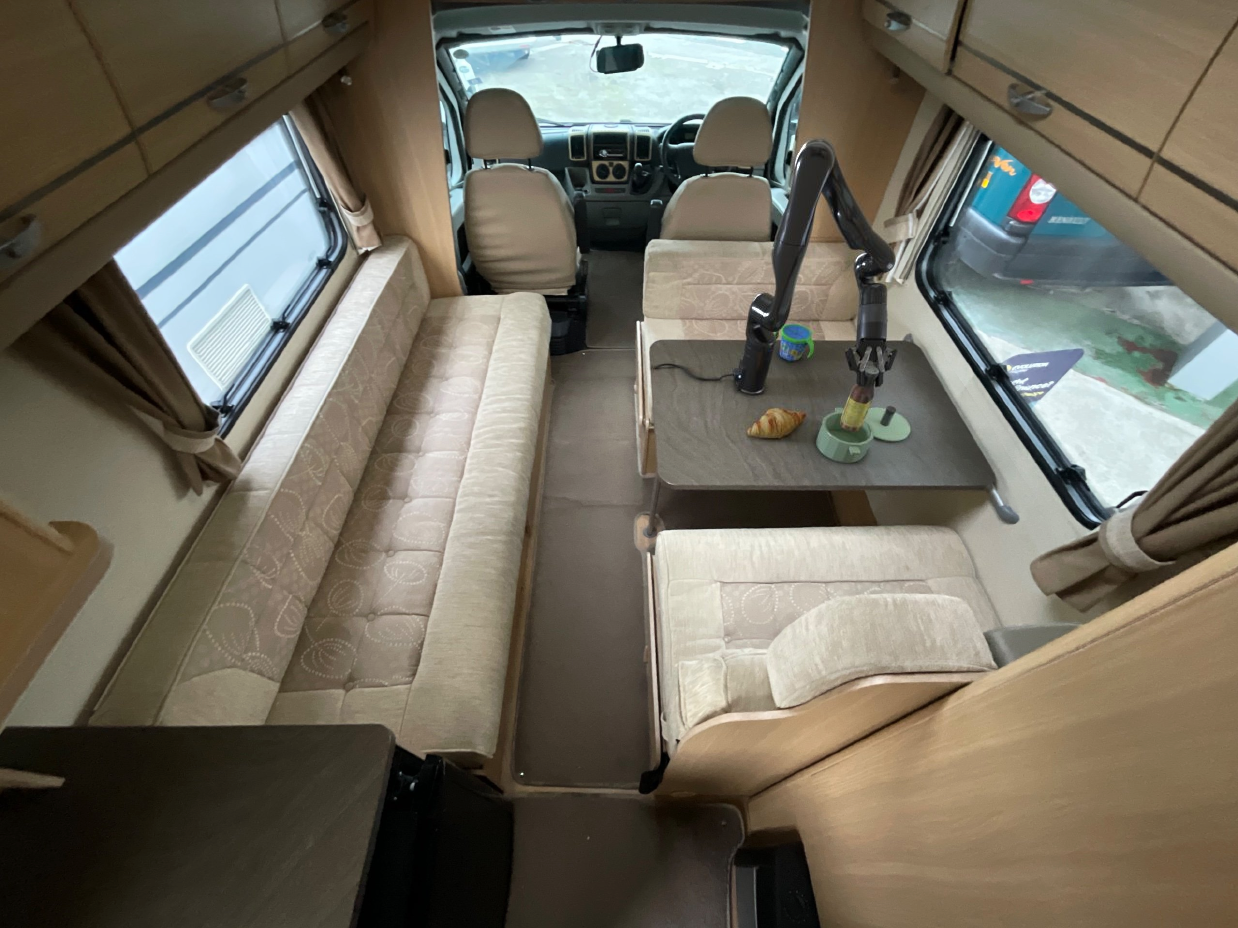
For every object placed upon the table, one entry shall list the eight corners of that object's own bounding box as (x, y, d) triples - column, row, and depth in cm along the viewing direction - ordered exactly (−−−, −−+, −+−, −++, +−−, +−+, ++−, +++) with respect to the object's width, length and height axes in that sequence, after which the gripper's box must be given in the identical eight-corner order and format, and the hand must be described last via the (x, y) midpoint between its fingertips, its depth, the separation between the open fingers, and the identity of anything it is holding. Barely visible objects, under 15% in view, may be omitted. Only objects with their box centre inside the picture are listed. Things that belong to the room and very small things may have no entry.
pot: (824, 468, 163) (831, 450, 158) (809, 423, 177) (816, 405, 172) (873, 470, 163) (883, 452, 158) (855, 424, 177) (863, 406, 172)
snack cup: (816, 361, 201) (824, 337, 194) (796, 371, 197) (803, 347, 189) (784, 341, 210) (790, 317, 203) (764, 350, 205) (770, 326, 198)
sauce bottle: (863, 432, 162) (888, 378, 148) (841, 432, 163) (864, 377, 148) (857, 417, 167) (880, 363, 153) (836, 417, 167) (857, 363, 153)
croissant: (750, 451, 173) (761, 442, 165) (736, 422, 175) (747, 412, 167) (805, 431, 179) (818, 422, 171) (791, 404, 181) (804, 393, 174)
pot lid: (865, 441, 172) (873, 424, 167) (852, 409, 183) (859, 392, 178) (916, 443, 172) (925, 426, 167) (899, 410, 183) (908, 393, 178)
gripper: (891, 327, 155) (889, 389, 156) (840, 326, 155) (838, 387, 156) (905, 321, 148) (902, 385, 148) (851, 319, 148) (848, 384, 148)
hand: (869, 386), depth 152 cm, fingers closed on sauce bottle, 4 cm apart
